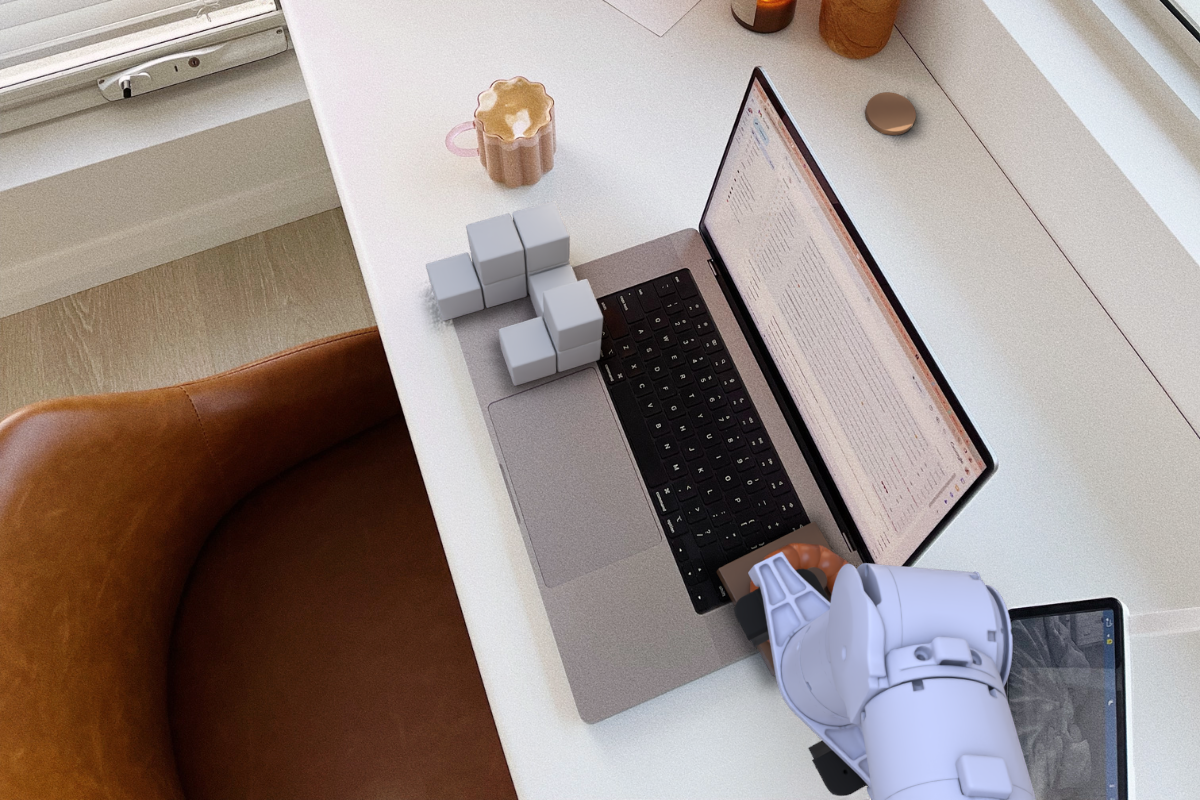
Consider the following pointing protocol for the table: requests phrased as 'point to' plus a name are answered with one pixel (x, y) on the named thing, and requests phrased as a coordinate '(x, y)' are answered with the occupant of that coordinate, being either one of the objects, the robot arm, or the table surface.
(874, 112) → the coaster
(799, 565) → the ring
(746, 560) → the peg stand
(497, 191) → the table surface
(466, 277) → the puzzle cube
